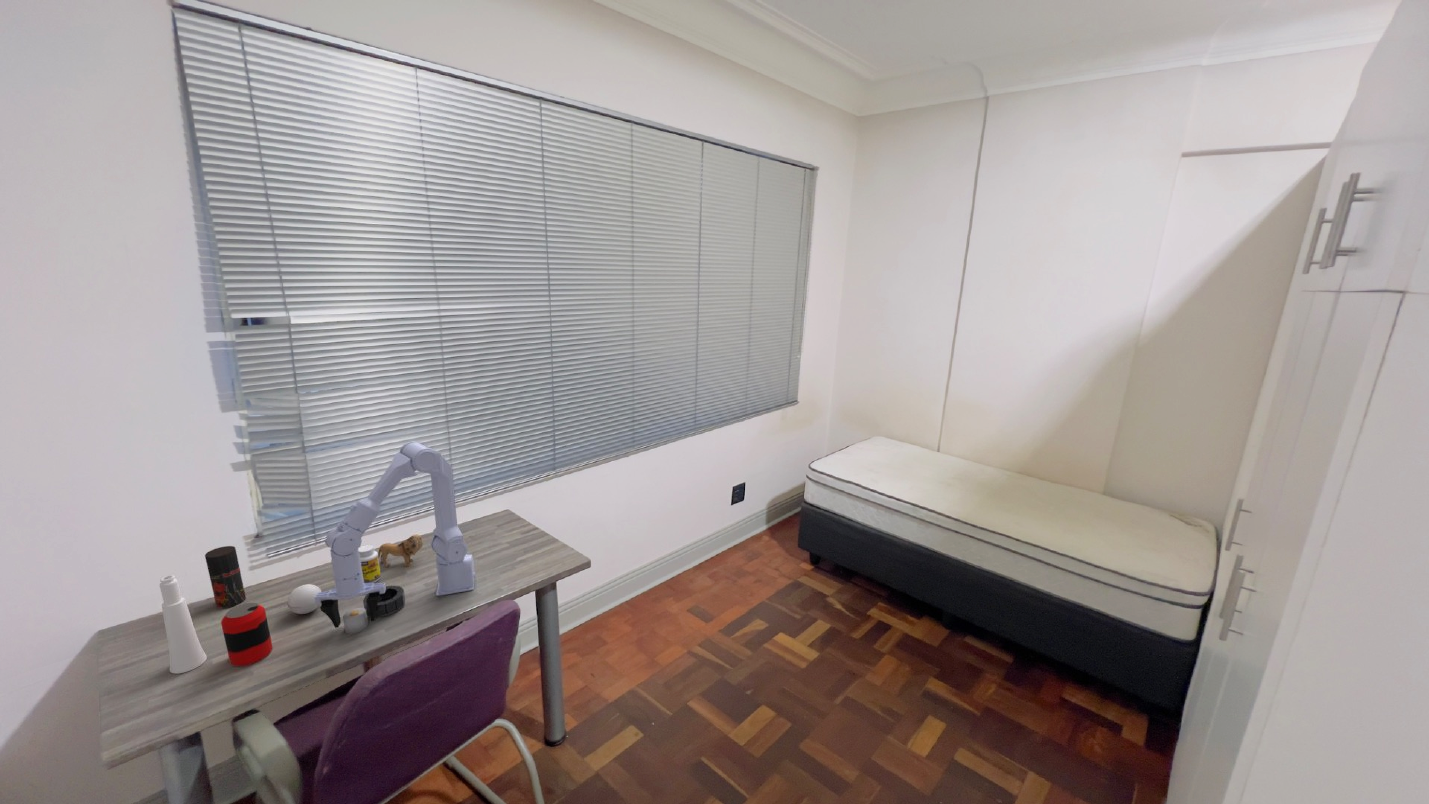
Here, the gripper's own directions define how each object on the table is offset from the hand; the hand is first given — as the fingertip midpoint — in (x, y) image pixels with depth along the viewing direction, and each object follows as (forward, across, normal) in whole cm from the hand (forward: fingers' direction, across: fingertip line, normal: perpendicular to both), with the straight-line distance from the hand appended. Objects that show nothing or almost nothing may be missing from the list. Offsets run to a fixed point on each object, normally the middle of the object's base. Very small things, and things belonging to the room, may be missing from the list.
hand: (355, 622), depth 134 cm
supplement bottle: (+2, +2, -23) cm, 23 cm away
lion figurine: (+2, -5, -31) cm, 31 cm away
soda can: (+2, +20, +4) cm, 20 cm away
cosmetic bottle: (+2, +32, +3) cm, 32 cm away
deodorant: (+2, +34, -23) cm, 41 cm away
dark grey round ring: (+1, -5, -7) cm, 9 cm away
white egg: (+2, +15, -11) cm, 19 cm away
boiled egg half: (+2, 0, 0) cm, 2 cm away
